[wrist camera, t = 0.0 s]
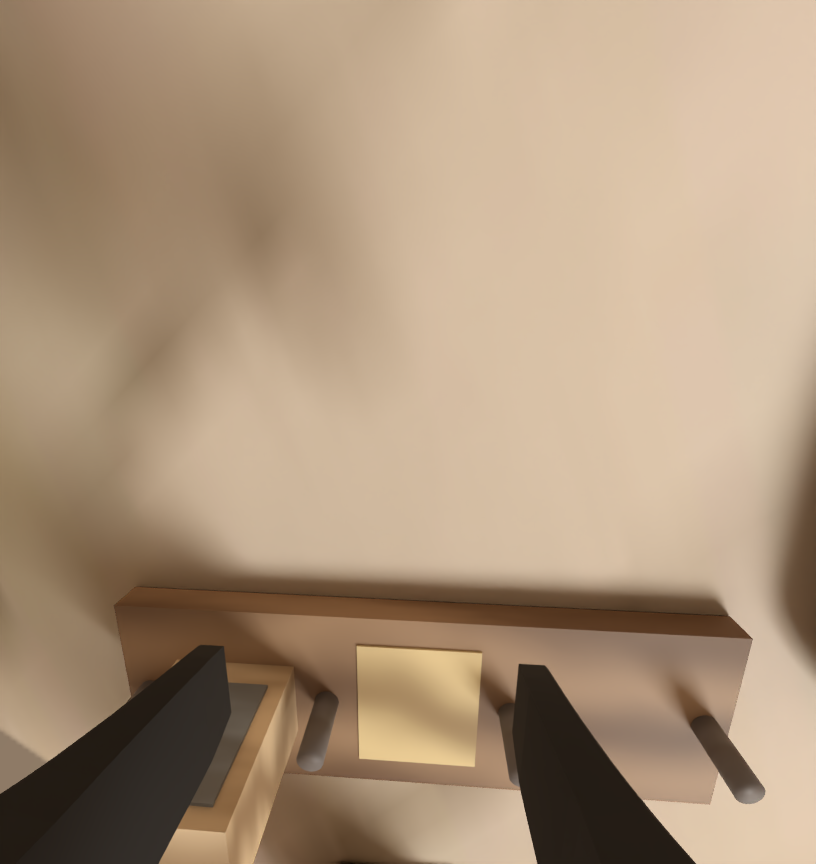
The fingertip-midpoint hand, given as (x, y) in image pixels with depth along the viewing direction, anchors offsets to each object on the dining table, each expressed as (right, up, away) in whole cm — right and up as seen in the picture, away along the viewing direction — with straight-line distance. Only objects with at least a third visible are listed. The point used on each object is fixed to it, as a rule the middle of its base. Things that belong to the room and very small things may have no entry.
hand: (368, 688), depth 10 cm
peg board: (+2, -7, +12) cm, 14 cm away
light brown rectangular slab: (-8, -7, +11) cm, 15 cm away
